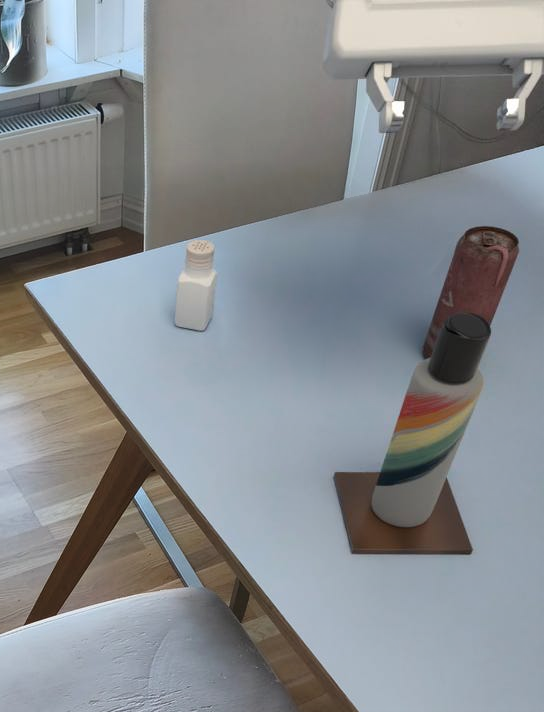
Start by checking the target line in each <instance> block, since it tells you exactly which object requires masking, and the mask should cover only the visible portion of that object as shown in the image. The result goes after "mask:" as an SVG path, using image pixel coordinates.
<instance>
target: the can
mask: <svg viewBox="0 0 544 712" xmlns="http://www.w3.org/2000/svg"><path fill="white" fill-rule="evenodd" d="M519 244H520V243H519V238H518V237H517V236H516V234H515V233H512V232H511V231H509V230H507V229H504V228H502V227H496V226H492V225H490V226H489V225H480V226H479V225H478V226H474V227H471V228H469V229H467V230H465V232H464V233H463V235H462V236H460V238H459V239H458V241H457V242H456V246H455V249H454V252H453V255H452V258H451V262H450V264H449V267H448V269H447V274H446V275H445V279H444V282H443V286H442V288H441V291H440V295H439V298H438V301H437V304H436V306H435V309H434V313H433V315H432V319H431V322H430V325H429V328H428V331H427V333H426V337H425V340H424V343H423V346H422V352H423V355H424V358H425V359H428V358H431V355H432V352H433V349H434V346H435V343H436V340H437V337H438V334H439V331H440V328H441V325H442V323H443V322H444V321H445V320H446V319H447V318H449V317H450V316H451V315H452V314H455V313H472V314H476V315H479V316H481V317H482V318H484V319H485V320H486V321H487V322H488V323H489V325H490V326H491V325H492V324H493V323H492V322H493V320H494V317H495V315H496V312H497V309H498V307H499V304H500V302H501V300H502V297H503V295H504V292H505V289H506V286H507V284H508V282H509V279H510V276H511V274H512V271H513V269H514V266H515V263H516V261H517V258H518V256H519V253H520V246H519Z"/></svg>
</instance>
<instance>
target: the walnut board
mask: <svg viewBox="0 0 544 712" xmlns="http://www.w3.org/2000/svg"><path fill="white" fill-rule="evenodd" d="M379 474H380V471H334V474H333V479H334V485H335V489H336V492H337V496H338V500H339V504H340V505H339V506H340V509H341V514H342V517H343V521H344V522H343V523H344V526H345V530H346V534H347V537H348V542H349V547H350V550H351V554H352V555H353V554H354V555H355V554H356V555H358V554H359V555H472V553H473V551H474V549H473V546H472V543H471V541H470V538H469V534H468V533H467V529H466V526H465V524H464V521H463V519H462V516H461V515H462V514H461V512H460V510H459V508H458V505H457V502H456V499H455V496H454V494H453V490H452V488H451V486H450V482H449V480H448V476H447V477H446V479H445V482H444V484H443V487H442V489H441V492H440V494H439V497H438V499H437V501H436V504H435V506H434V509H433V511H432V513H431V515H430V517H429V518H428V519H427V520H426V521H425V522H424V523H423V524H421V525H418V526H415V527H398V526H394V525H391V524H388V523H386V522H384V521H383V520H381V519H380V518H379V517H378V516H377V515H376V514H375V513H374V511H373V509H372V497H373V493H374V490H375V487H376V484H377V480H378V477H379Z"/></svg>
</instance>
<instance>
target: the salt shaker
mask: <svg viewBox="0 0 544 712" xmlns="http://www.w3.org/2000/svg"><path fill="white" fill-rule="evenodd" d="M214 255H215V245H214V243H212V242H211V241H209V240H205V239H195V240H191V241H190V242H188V243H187V244H186V252H185V260H184V261H185V262H184V263H185V266H184V267H183V268H182V270H181V272H180V274H179V275H178V277H177V284H176V298H175V309H174V310H175V311H174V324H175V326H177V327H179V328H183V329H184V328H185V329H188V330H189V329H190V330H195V331H199V332H201V331H205V330H206V328H207V326H208V324H209V323H210V320H211V319H212V317H213V314H214V308H215V307H214V306H215V299H216V290H217V289H216V288H217V279H218V271H216V270H215V269H214V268H213V264H214V257H215V256H214Z"/></svg>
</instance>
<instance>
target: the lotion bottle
mask: <svg viewBox="0 0 544 712" xmlns="http://www.w3.org/2000/svg"><path fill="white" fill-rule="evenodd" d="M491 335H492V328H491V325H489V323H488V322H487V321H486V320H485V319H484V318H482V317H481V316H479V315H476V314H472V313H455V314H452V315H451V316H450V317H449V318H447V319H446V320H445V321H444V322H443V323H442V325H441V328H440V331H439V334H438V337H437V340H436V343H435V346H434V349H433V352H432V355H431V358H428V359H426V358H424V360H422V361H419V363H418V364H417V365H416V366H415V367H414V370H413V373H412V375H411V378H410V381H409V384H408V387H407V390H406V392H405V396H404V399H403V401H402V405H401V408H400V410H399V414H398V416H397V420H396V423H395V426H394V428H393V432H392V435H391V438H390V441H389V443H388V447H387V450H386V453H385V457H384V459H383V462H382V465H381V469H380V471H379V472H380V474H379V477H378V480H377V484H376V487H375V490H374V493H373V497H372V509H373V511H374V513H375V514H376V515H377V516H378V517H379V518H380V519H381V520H383V521H384V522H386V523H388V524H391V525H394V526H398V527H415V526H418V525H421V524H423V523H424V522H425V521H426V520H427V519H428V518H429V517H430V515H431V513H432V511H433V509H434V506H435V504H436V501H437V499H438V497H439V494H440V492H441V489H442V487H443V484H444V482H445V479H446V477H447V478H448V475H449V472H450V469H451V467H452V465H453V462H454V460H455V458H456V455H457V452H458V450H459V448H460V445H461V443H462V440H463V438H464V435H465V433H466V430H467V428H468V426H469V423H470V421H471V418H472V416H473V414H474V411H475V408H476V406H477V403H478V401H479V398H480V396H481V393H482V390H483V388H484V384H485V378H484V376H483V374H482V372H481V370H480V369H479V366H480V363H481V361H482V358H483V355H484V353H485V351H486V348H487V346H488V343H489V340H490V338H491Z"/></svg>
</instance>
